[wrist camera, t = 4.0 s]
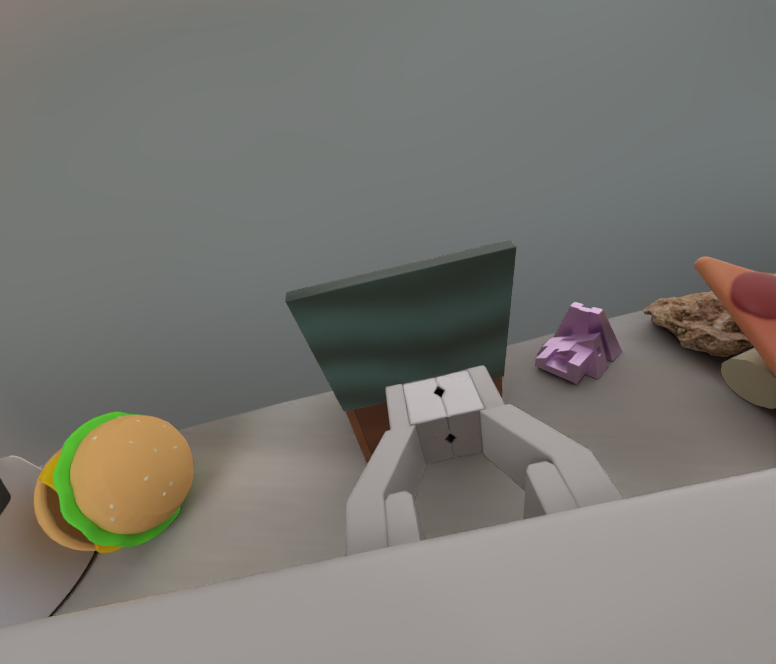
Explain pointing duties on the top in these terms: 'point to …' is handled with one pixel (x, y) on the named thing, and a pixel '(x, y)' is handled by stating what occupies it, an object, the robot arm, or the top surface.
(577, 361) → the letters
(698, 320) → the rock
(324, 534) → the top surface
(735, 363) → the flower vase
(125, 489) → the hamburger
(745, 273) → the pizza slice
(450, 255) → the dark green box lid
